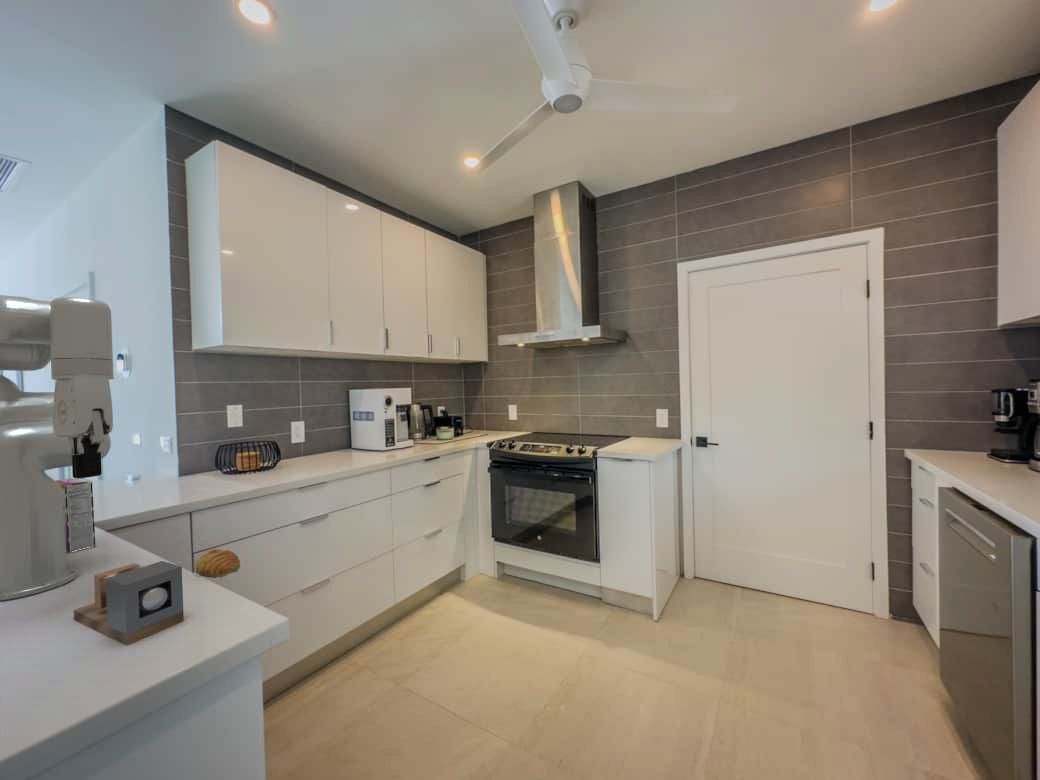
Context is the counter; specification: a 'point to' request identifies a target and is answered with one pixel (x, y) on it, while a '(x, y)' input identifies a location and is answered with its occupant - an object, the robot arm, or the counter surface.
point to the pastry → (217, 563)
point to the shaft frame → (136, 604)
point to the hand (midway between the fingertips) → (87, 476)
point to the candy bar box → (78, 513)
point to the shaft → (147, 597)
